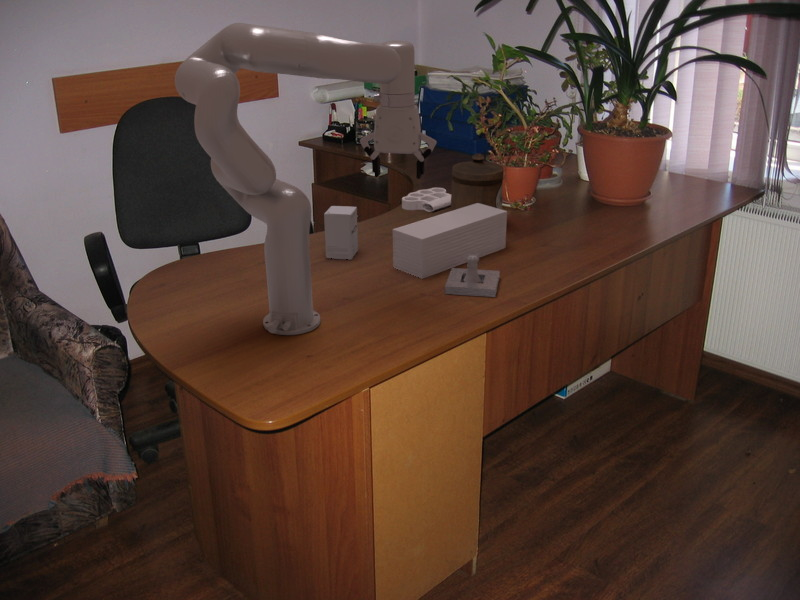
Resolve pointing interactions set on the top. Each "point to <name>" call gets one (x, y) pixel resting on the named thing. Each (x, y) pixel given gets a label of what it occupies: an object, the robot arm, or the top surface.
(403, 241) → the long grey block
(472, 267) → the rook chess piece
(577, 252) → the top surface
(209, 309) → the top surface
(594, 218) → the top surface
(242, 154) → the robot arm
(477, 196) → the wooden container
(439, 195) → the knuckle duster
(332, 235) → the supplement box
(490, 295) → the socket plate
